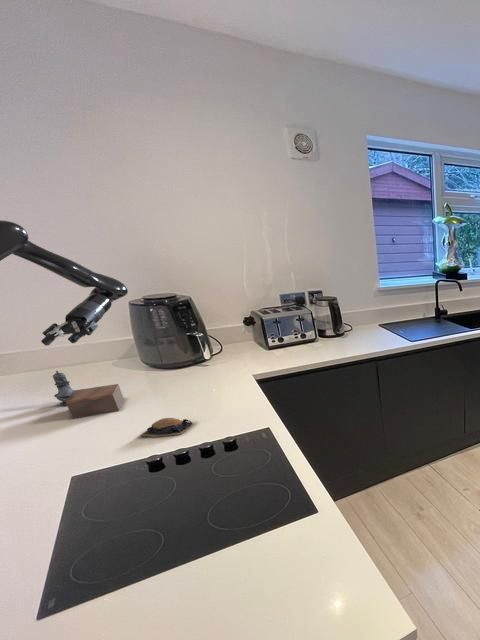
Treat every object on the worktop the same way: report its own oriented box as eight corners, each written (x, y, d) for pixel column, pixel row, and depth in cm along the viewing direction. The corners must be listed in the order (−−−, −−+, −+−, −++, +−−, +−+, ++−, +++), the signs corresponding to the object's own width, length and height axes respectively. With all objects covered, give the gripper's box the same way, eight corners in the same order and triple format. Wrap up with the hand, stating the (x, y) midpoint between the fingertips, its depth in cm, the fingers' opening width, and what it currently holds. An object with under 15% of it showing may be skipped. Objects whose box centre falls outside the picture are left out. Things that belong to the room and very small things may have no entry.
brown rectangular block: (72, 418, 128) (65, 401, 125) (80, 406, 136) (74, 390, 134) (119, 410, 134) (112, 394, 131) (124, 399, 142) (118, 383, 140)
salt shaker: (58, 408, 134) (43, 375, 130) (58, 402, 138) (43, 370, 133) (83, 403, 138) (69, 370, 134) (82, 398, 142) (68, 366, 137)
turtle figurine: (140, 438, 118) (135, 427, 116) (158, 425, 125) (154, 414, 124) (180, 436, 119) (176, 425, 118) (195, 422, 127) (192, 412, 126)
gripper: (57, 308, 146) (25, 335, 135) (98, 305, 147) (71, 332, 136) (73, 324, 151) (44, 352, 140) (113, 321, 153) (88, 348, 141)
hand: (57, 342), depth 138 cm, fingers open, 8 cm apart
